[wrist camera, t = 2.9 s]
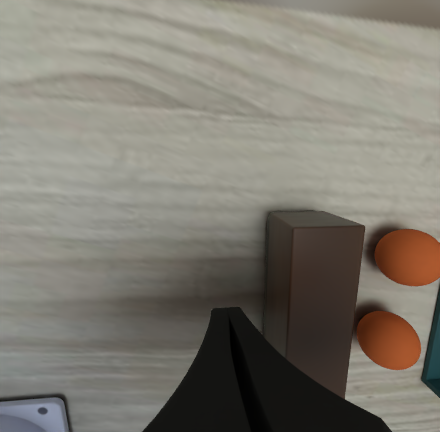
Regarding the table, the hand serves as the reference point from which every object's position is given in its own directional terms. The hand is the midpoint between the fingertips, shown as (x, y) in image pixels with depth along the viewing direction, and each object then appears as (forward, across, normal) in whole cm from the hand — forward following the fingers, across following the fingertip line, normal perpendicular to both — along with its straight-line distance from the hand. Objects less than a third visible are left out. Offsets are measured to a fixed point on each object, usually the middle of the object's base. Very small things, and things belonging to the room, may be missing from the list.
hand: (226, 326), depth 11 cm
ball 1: (+1, -10, -2) cm, 10 cm away
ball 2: (+1, -10, +2) cm, 10 cm away
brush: (+3, -4, 0) cm, 5 cm away
